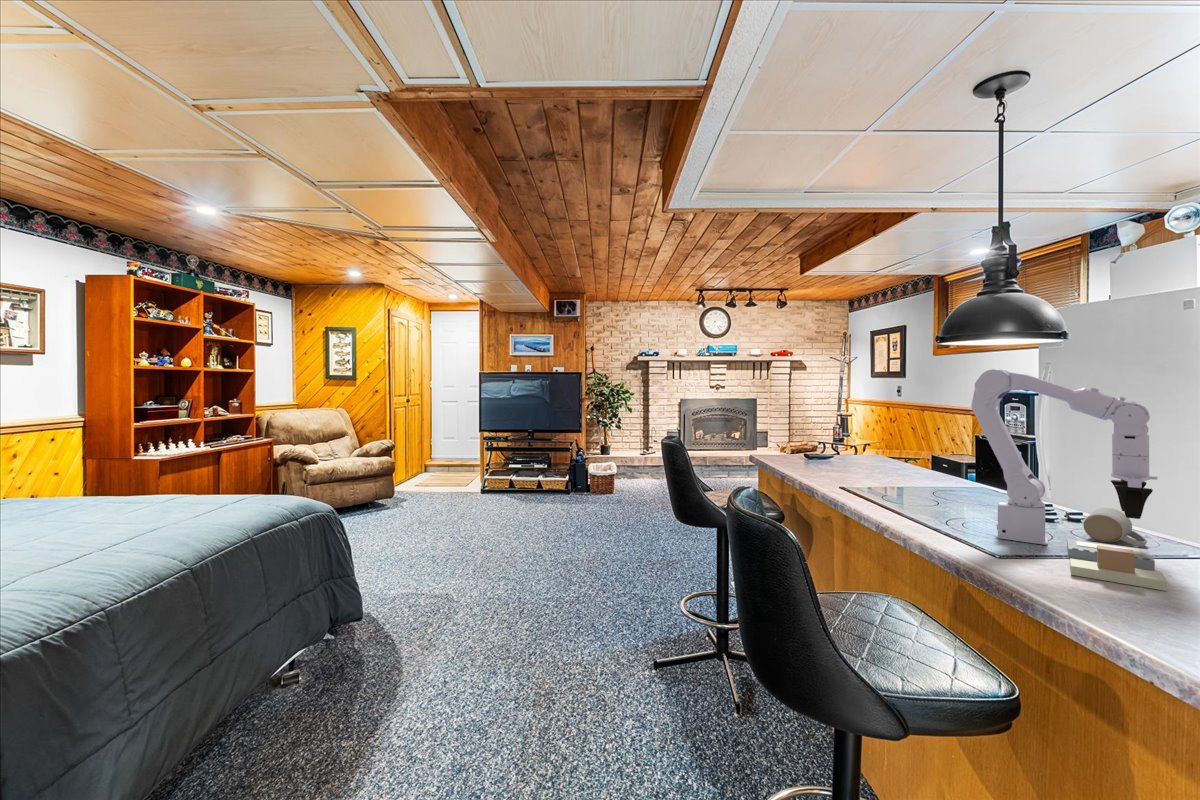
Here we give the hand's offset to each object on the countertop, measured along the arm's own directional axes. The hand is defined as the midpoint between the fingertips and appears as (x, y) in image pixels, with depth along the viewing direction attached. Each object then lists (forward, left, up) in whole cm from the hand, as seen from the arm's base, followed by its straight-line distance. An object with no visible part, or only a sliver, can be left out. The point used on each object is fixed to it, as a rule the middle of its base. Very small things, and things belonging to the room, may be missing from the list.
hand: (1130, 514), depth 111 cm
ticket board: (-4, -5, -9) cm, 11 cm away
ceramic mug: (-2, +13, -10) cm, 17 cm away
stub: (-4, -22, -9) cm, 24 cm away
